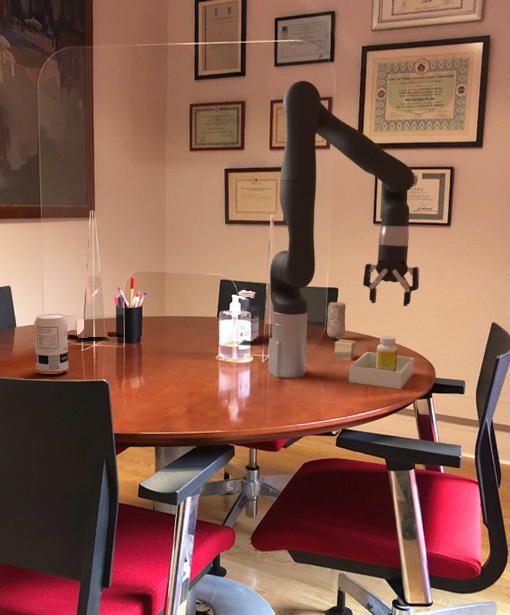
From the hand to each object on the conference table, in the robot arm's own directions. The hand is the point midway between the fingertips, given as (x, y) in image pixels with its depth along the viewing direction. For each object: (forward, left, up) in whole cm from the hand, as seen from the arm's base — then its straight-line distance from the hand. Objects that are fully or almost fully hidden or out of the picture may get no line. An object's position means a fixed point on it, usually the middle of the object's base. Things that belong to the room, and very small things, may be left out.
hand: (389, 304), depth 165 cm
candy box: (-20, +54, -20) cm, 61 cm away
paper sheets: (-74, +81, -21) cm, 112 cm away
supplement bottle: (0, 0, -19) cm, 19 cm away
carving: (+10, +47, -20) cm, 52 cm away
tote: (-3, -3, -20) cm, 20 cm away
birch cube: (-1, +21, -20) cm, 29 cm away
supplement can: (-85, +28, -20) cm, 92 cm away
